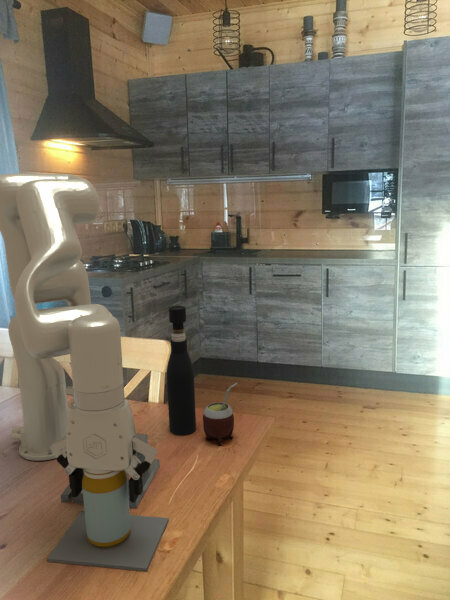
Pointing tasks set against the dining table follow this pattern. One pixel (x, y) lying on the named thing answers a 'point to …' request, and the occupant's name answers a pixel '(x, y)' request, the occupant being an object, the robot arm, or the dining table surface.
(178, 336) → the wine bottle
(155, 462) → the vise
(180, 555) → the dining table surface
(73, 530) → the mat
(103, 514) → the bottle
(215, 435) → the mate gourd
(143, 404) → the dining table surface
